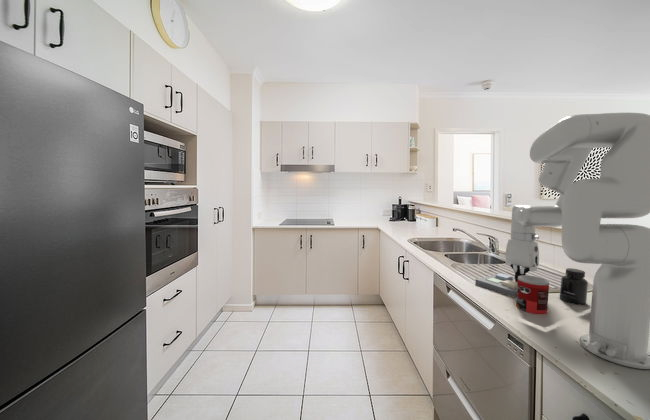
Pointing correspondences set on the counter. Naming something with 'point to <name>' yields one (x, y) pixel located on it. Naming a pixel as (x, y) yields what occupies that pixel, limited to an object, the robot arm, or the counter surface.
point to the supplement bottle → (574, 287)
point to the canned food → (532, 294)
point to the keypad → (497, 286)
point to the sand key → (510, 284)
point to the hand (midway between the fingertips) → (519, 282)
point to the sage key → (494, 280)
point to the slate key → (504, 277)
